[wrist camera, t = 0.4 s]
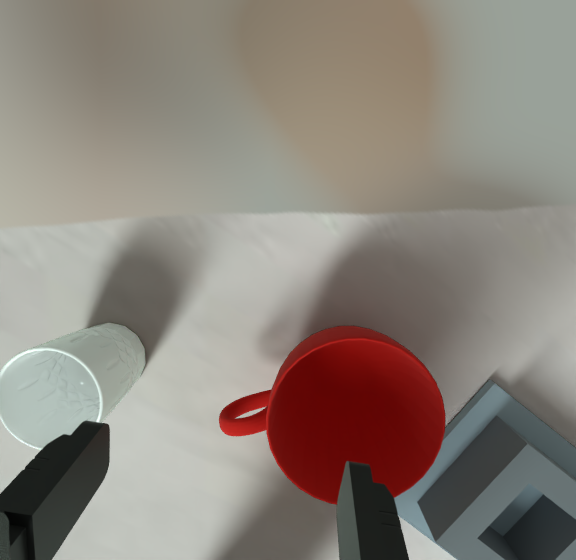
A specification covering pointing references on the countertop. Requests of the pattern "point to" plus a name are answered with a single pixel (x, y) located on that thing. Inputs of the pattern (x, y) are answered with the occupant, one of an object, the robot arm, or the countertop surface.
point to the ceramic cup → (347, 412)
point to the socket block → (497, 486)
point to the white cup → (68, 382)
